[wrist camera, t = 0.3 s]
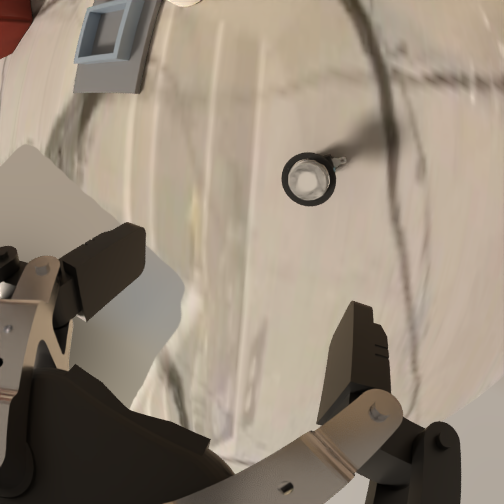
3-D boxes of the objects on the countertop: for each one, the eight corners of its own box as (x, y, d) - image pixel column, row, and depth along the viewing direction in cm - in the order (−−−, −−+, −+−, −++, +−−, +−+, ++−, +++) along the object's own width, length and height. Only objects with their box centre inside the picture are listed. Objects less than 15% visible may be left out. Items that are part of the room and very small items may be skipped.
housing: (102, -10, 29) (87, -14, 25) (170, -25, 26) (155, -34, 23) (77, 92, 39) (61, 93, 36) (139, 93, 37) (121, 93, 33)
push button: (339, 139, 32) (338, 142, 24) (352, 179, 34) (356, 197, 25) (289, 154, 35) (271, 163, 26) (303, 192, 37) (290, 215, 28)
